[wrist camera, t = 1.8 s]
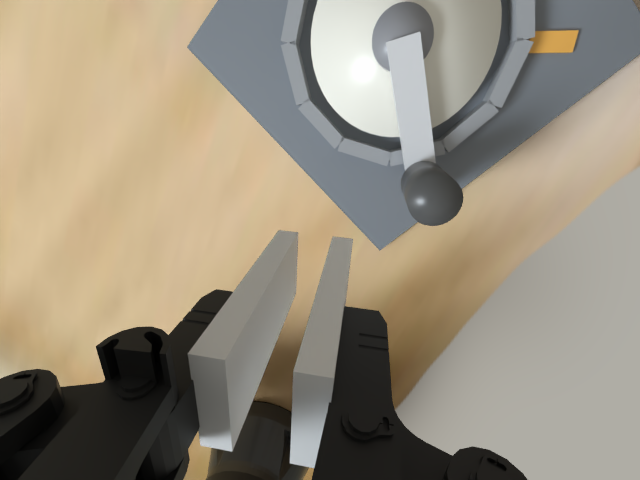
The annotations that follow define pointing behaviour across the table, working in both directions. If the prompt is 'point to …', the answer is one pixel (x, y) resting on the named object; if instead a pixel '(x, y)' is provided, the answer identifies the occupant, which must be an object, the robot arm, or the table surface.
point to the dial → (406, 78)
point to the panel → (448, 137)
